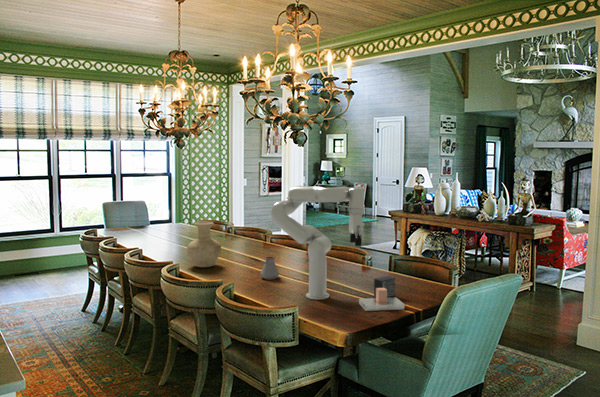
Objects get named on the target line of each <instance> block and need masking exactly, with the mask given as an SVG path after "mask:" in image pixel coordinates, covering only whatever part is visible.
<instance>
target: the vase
mask: <svg viewBox="0 0 600 397" xmlns="http://www.w3.org/2000/svg"><path fill="white" fill-rule="evenodd" d="M214 224H215V223H214V222H212V221H197V222H194V227H197V238H195V239H194V240H191V241H190V242H189V243H188V245H187V248H186V249H187V254H188V256H189V258H190V260H191V261H192V265H193V266H194V267H195V268H196V267H197V268H210V267H214V266H215V265H216V263H217V260H218V259H219V257H220V254H221V251H222V245H221V243H220V242H219V241H217V240H216V239H213V238H212V237H211V228H212V227H213V226H214Z"/></svg>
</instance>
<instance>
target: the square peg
mask: <svg viewBox="0 0 600 397" xmlns="http://www.w3.org/2000/svg"><path fill="white" fill-rule="evenodd" d="M376 303H377V304H382V303H387V289H385V288H376Z"/></svg>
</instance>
